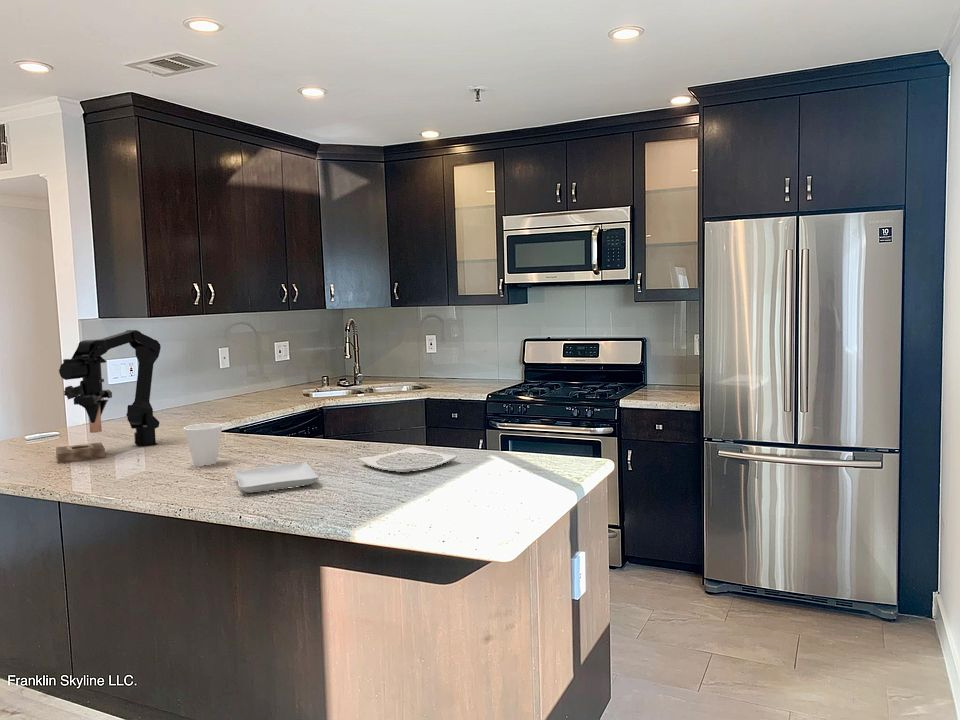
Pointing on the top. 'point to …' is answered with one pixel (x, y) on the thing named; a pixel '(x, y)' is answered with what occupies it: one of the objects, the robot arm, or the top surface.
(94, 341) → the robot arm
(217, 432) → the cup
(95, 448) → the socket block
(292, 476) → the salad plate
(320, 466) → the top surface
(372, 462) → the plate
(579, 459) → the top surface
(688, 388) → the top surface
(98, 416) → the peg
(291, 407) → the top surface
